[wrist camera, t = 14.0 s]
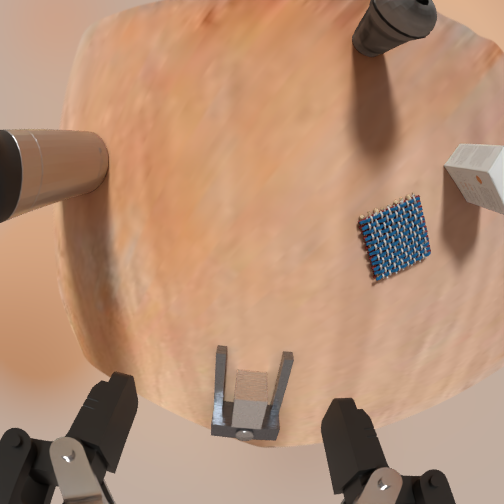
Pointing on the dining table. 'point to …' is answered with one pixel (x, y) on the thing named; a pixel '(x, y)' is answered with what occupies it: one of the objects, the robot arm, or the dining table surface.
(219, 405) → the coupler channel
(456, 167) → the small box
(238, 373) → the block
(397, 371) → the dining table surface
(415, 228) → the woven mat
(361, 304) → the dining table surface
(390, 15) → the beverage cup
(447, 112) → the dining table surface
